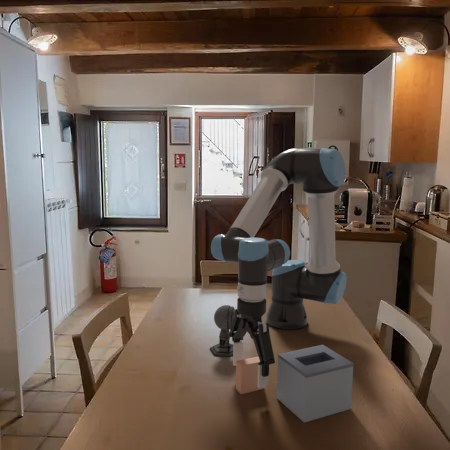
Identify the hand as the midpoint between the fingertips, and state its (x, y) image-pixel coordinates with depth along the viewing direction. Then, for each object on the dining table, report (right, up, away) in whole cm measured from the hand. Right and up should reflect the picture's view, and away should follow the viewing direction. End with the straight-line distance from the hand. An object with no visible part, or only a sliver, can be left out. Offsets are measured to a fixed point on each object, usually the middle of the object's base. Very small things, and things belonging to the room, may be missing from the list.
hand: (249, 375), depth 122 cm
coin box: (+16, -5, -6) cm, 18 cm away
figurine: (-7, 0, +24) cm, 25 cm away
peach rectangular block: (0, -4, +1) cm, 4 cm away
